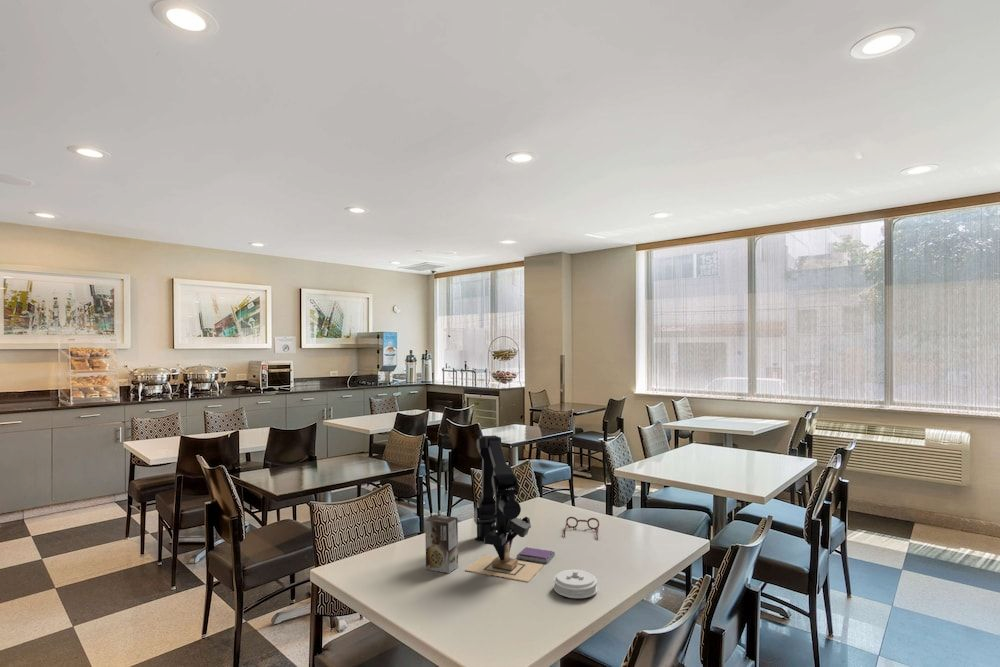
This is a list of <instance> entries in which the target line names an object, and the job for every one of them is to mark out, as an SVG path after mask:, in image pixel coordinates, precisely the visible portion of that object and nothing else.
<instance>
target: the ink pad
mask: <svg viewBox="0 0 1000 667" xmlns="http://www.w3.org/2000/svg"><path fill="white" fill-rule="evenodd" d="M555 556H556V553H555V551H552V550H547V549H540V548H534V547H524V548H523V549H522V550H521V551H520V552H519V553H518V554H516V559H518V560H520V561H527V560H528V561H527V562H532V563H535V562H536V563H539V562H540V563H539V564H542V563H543V564H546V563H547V564H549V563H550V561H551V560H552V559H553V558H554V557H555Z"/></svg>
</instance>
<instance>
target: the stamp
mask: <svg viewBox="0 0 1000 667" xmlns="http://www.w3.org/2000/svg"><path fill="white" fill-rule="evenodd" d="M510 551H511V548H510V546H509V542H508V543H507V544H506V549H505V558H504V560H500V557H499V555H498V556H496V557H497V558H495V559H494V560H493V561H492V567H493V568H494V569H500V570H506V571H512V570H513V569H514V568H516V567H517V564H518V561H519V559H517V558H511V556H510V555H511V554H510Z"/></svg>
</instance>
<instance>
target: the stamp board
mask: <svg viewBox="0 0 1000 667" xmlns="http://www.w3.org/2000/svg"><path fill="white" fill-rule="evenodd" d="M497 557H498V556H492V555H488V554H483V555H482V556H481V557H480V558H478V559H476V561H474V562H473V563H472V564H471V565H469V566H468V567H467V568H466V569H464V572H469V571H470V572H469V573H474V572H475V573H476V574H480V573H481V574H482V575H485V574H488V575H487V576H491V575H494V576H493V577H496V576H499V577H498V578H502V577H504V578H503V579H507V578H508V580H513V579H514V581H518V580H519V582H524V581H525V583H529V582H530V581H532V578H534V577H535V576H536V575H537V573H538V572H539V571H540V570H541V569H542V568H543V567H544V566H545V565H544V564H542V563H537V562H536V563H535V562H531V561H525V560H518V564H517V567H516V568H514V569H513V570H512V571H506V570H500V569H494V568H493V567H492V561H493V560H494V559H495V558H497ZM535 574H536V575H535ZM534 575H535V576H534Z"/></svg>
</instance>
